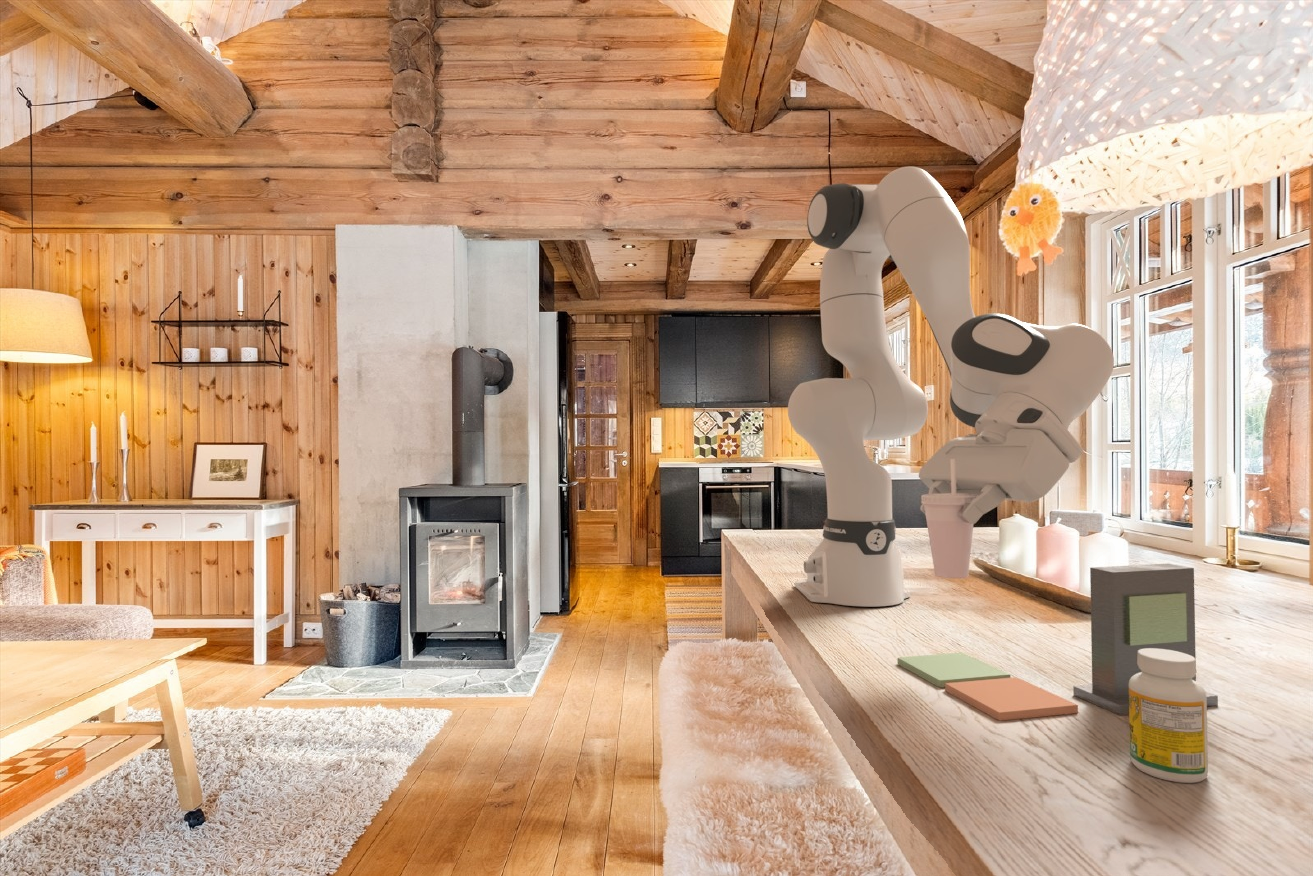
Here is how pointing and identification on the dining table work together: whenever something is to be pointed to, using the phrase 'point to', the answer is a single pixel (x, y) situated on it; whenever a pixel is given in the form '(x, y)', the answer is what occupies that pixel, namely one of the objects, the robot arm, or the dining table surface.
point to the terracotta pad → (1010, 698)
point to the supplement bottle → (1168, 717)
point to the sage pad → (950, 668)
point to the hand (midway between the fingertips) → (944, 516)
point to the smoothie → (949, 530)
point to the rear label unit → (1136, 626)
